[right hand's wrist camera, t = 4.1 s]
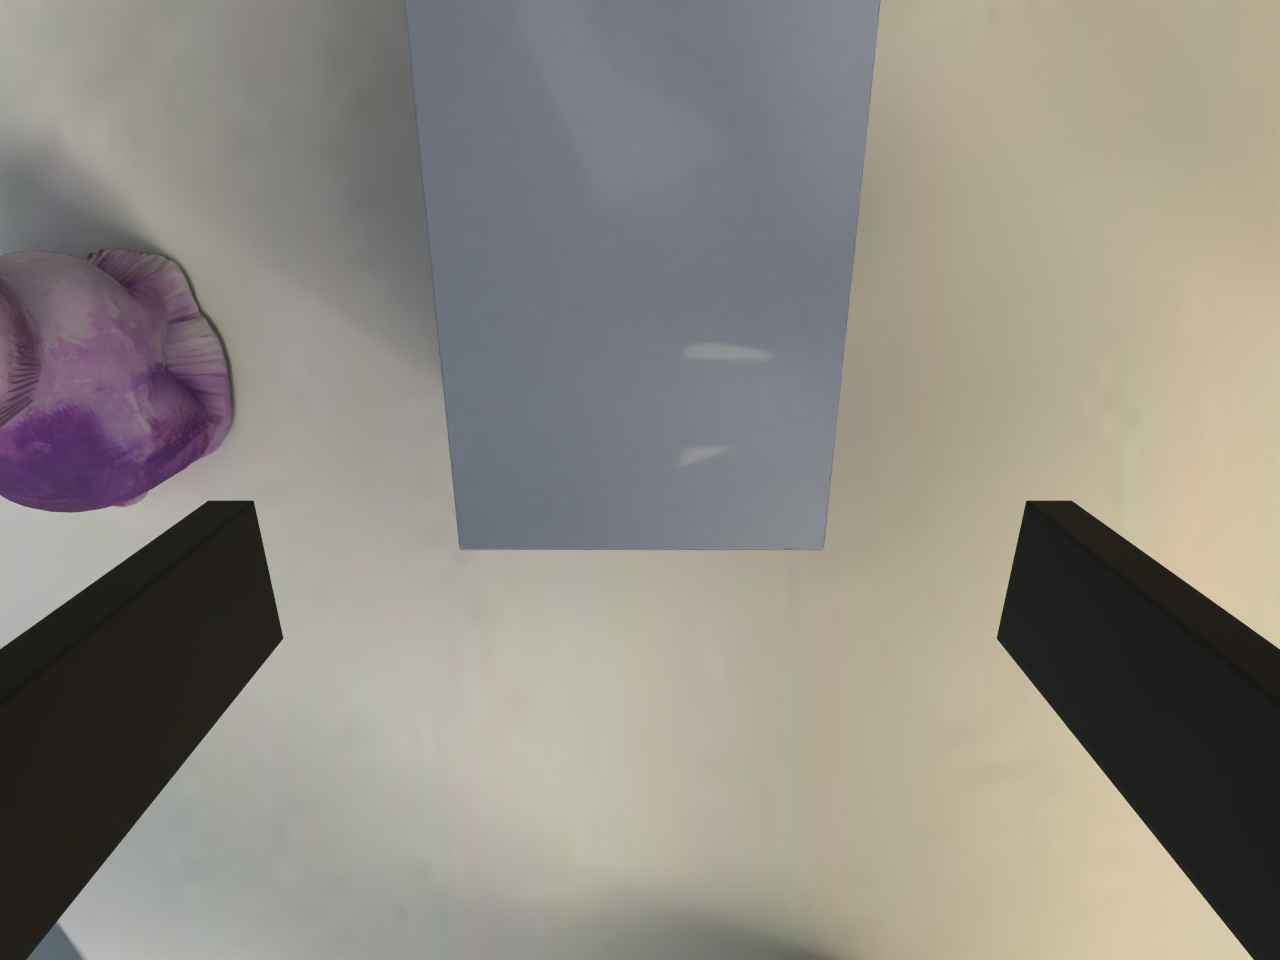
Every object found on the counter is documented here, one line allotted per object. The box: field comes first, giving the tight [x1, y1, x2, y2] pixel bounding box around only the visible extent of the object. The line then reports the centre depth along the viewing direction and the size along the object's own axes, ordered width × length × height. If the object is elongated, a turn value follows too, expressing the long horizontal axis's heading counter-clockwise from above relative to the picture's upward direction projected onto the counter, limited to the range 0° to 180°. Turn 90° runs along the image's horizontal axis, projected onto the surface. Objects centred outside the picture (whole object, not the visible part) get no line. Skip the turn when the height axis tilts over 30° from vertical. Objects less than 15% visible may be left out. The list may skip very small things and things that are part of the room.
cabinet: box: [404, 0, 880, 550], centre depth 24 cm, size 16×11×11 cm
